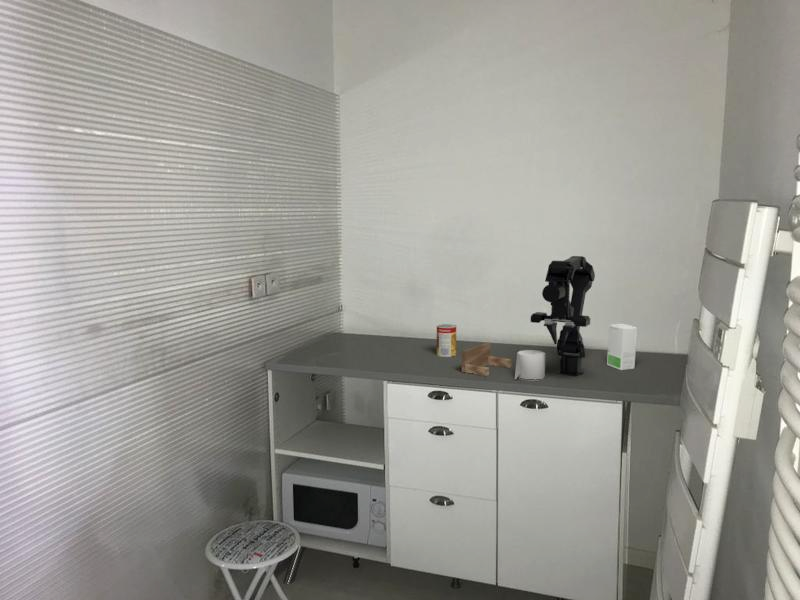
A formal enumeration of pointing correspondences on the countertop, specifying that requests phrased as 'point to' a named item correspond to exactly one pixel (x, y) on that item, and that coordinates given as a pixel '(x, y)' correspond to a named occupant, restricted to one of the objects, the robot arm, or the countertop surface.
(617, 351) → the skincare box
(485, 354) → the roll cradle
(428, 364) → the countertop surface
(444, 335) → the canned food
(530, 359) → the toilet tissue
